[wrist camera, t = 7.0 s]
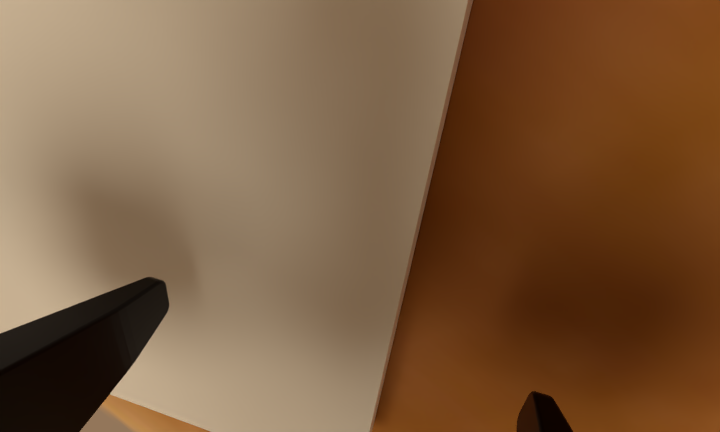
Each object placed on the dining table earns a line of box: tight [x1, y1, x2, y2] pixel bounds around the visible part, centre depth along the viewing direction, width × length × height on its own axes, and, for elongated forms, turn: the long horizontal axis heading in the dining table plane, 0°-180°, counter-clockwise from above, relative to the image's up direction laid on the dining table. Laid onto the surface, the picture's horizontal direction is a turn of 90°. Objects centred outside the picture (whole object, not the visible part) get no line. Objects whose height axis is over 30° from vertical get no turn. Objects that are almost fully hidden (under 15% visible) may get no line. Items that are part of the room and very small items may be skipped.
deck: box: [0, 0, 473, 432], centre depth 13 cm, size 16×24×2 cm, turn 83°
